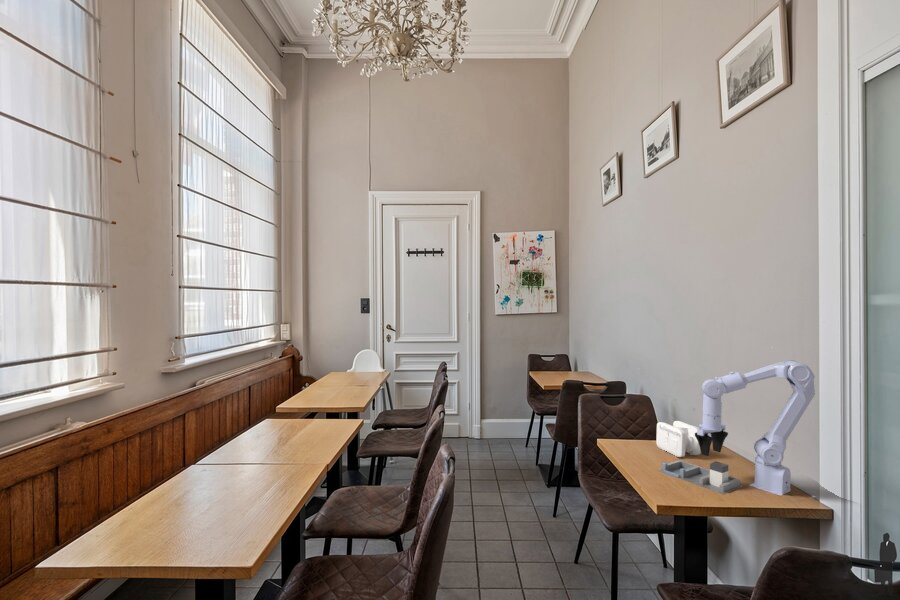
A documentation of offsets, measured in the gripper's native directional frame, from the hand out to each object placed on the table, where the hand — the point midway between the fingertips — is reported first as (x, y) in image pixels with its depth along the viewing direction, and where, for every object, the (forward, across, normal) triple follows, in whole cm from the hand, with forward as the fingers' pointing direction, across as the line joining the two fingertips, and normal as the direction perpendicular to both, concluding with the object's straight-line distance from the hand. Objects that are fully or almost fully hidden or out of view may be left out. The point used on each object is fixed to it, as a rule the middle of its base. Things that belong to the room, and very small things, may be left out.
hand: (711, 453), depth 159 cm
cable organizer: (+10, -17, -23) cm, 30 cm away
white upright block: (+9, +3, +4) cm, 10 cm away
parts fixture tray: (+10, +3, -2) cm, 10 cm away
